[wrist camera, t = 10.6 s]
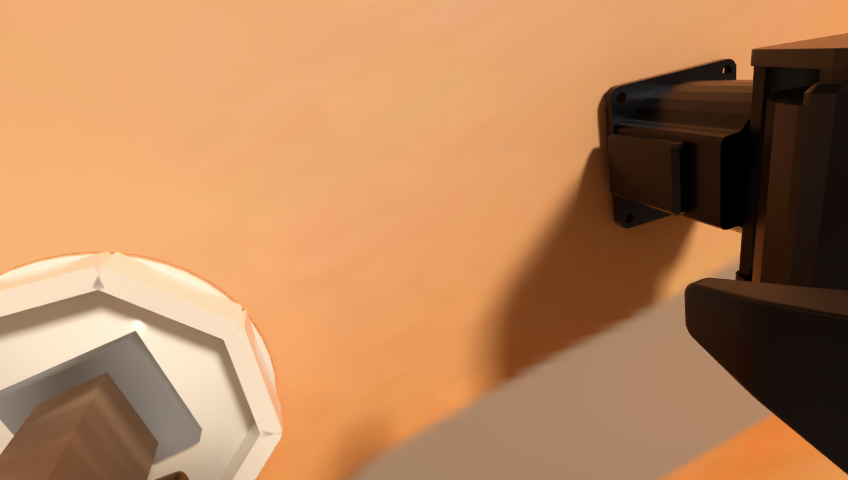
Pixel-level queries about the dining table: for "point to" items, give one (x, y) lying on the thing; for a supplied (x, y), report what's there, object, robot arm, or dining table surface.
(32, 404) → the brown tall rectangular block
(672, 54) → the dining table surface
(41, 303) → the saucer
